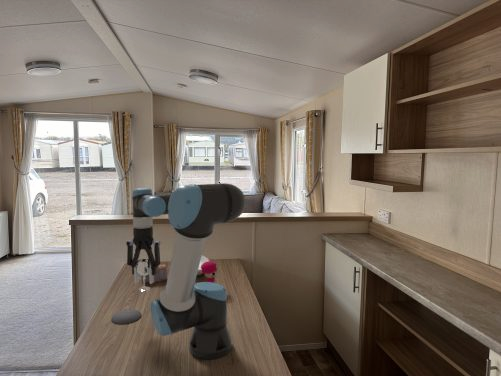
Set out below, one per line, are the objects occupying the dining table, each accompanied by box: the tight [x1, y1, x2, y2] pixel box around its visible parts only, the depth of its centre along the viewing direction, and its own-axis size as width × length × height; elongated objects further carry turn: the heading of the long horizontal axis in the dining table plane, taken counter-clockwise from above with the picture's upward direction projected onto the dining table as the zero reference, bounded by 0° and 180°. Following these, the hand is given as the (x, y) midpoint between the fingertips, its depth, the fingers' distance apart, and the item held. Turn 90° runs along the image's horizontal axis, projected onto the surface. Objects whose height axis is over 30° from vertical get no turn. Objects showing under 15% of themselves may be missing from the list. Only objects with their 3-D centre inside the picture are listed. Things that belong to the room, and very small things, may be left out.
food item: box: [141, 264, 168, 284], centre depth 186 cm, size 14×8×10 cm, turn 111°
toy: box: [201, 260, 218, 283], centre depth 173 cm, size 8×8×15 cm
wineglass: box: [136, 258, 151, 292], centre depth 137 cm, size 6×6×12 cm
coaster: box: [111, 309, 142, 325], centre depth 143 cm, size 12×12×1 cm
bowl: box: [197, 254, 210, 276], centre depth 202 cm, size 30×15×6 cm, turn 13°
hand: (144, 282), depth 137 cm, fingers closed on wineglass, 6 cm apart
